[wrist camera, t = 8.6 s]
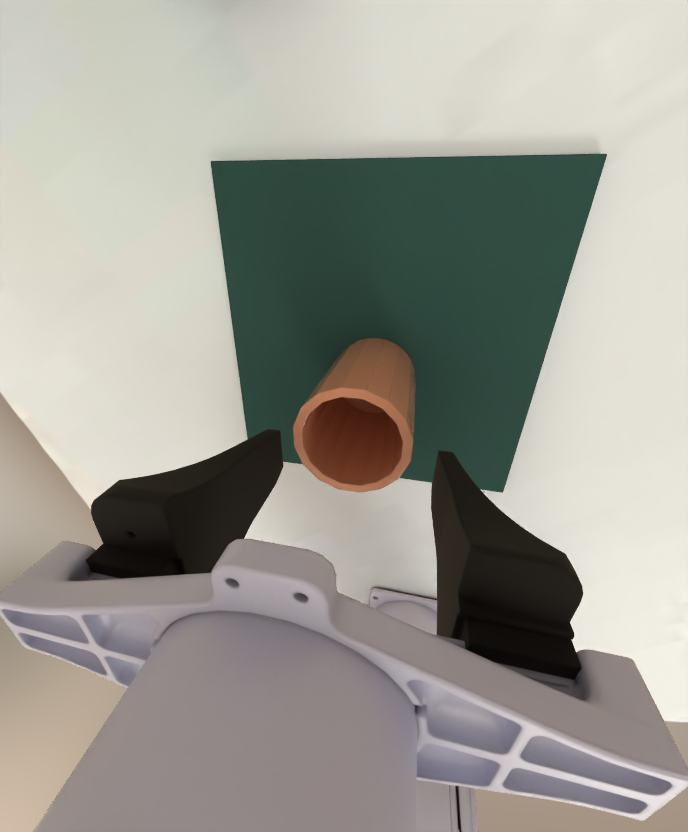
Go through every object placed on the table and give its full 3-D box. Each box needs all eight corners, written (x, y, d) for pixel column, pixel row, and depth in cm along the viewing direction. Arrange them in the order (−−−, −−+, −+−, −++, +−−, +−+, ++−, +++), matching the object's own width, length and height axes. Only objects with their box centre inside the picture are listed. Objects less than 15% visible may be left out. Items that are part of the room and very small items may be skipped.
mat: (501, 487, 25) (502, 492, 25) (252, 453, 29) (249, 456, 28) (601, 156, 16) (607, 153, 15) (216, 163, 19) (210, 161, 19)
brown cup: (410, 418, 24) (405, 499, 16) (334, 410, 24) (295, 483, 17) (420, 340, 21) (419, 395, 14) (334, 334, 22) (290, 382, 15)
